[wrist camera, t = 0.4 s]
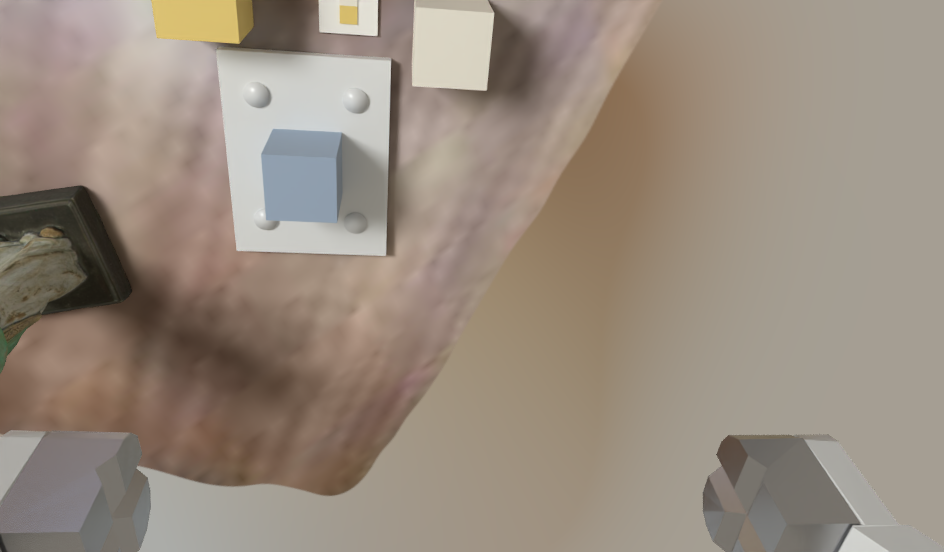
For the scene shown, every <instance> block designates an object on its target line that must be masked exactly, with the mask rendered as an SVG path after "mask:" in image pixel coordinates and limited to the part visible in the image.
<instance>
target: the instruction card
mask: <svg viewBox="0 0 944 552" xmlns="http://www.w3.org/2000/svg"><path fill="white" fill-rule="evenodd" d="M319 29H320V32H325V33H339V34H353V35H367V36H378V0H319Z"/></svg>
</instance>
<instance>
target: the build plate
mask: <svg viewBox="0 0 944 552" xmlns="http://www.w3.org/2000/svg"><path fill="white" fill-rule="evenodd" d="M216 54H217V64H218V74H219V83H220V93H221V103H222V113H223V122H224V132H225V142H226V151H227V161H228V171H229V180H230V190H231V200H232V209H233V219H234V229H235V238H236V248H237V251H258V252H287V253H316V254H345V255H375V256H386V240H387V201H388V163H389V124H390V85H391V58H384V57H369V56H354V55H339V54H324V53H309V52H294V51H279V50H264V49H249V48H234V47H218V48H217V49H216ZM273 129H288V130H306V131H325V132H342V192H343V194H342V199H341V205H340V210H339V216H338V221H337V223H323V222H297V221H272V220H266V213H265V200H264V187H263V174H262V160H261V153H262V151H263V149H264V147H265V145H266V143H267V140H268V138H269V136H270V134H271V132H272V130H273Z"/></svg>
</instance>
